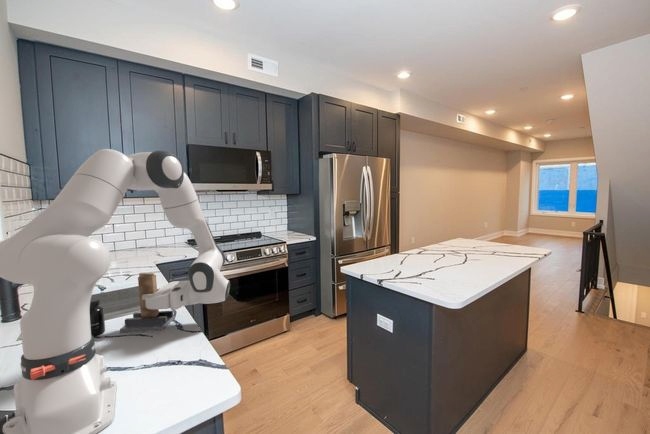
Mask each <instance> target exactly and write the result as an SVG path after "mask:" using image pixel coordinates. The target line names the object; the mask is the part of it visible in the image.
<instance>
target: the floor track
mask: <svg viewBox="0 0 650 434" xmlns="http://www.w3.org/2000/svg"><path fill="white" fill-rule="evenodd" d="M175 318H176V315H175V313H174V310H161V311H160V310H159V314H158V315H157V316H156V317H143V318H141V311H139V312H138V311H137V312H134V313H132V318H131V317H130V318H125V319H124V325H123V326H122V327H121V328H120V330H119V331H120V334H128V333H141V332H142V333H145V332H159V331H161V332H162V331H163V330H165V329H166V328H167V327H168V326H167V325H168V324H169V325H170V324H171V323H172V322H173V321H174V320H175ZM170 322H171V323H170ZM166 326H167V327H166ZM165 327H166V328H165ZM164 328H165V329H164Z"/></svg>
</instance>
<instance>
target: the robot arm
mask: <svg viewBox="0 0 650 434" xmlns="http://www.w3.org/2000/svg"><path fill="white" fill-rule="evenodd" d="M127 191H129V192H136V191H154V192H156V193H157V194H158V197H159V201H160V204H161V207H162V209H163V212H164V215H165V218H166V219H167V220H168V222H169V224H170V225H172V226H173V227H175V228H177V229H183V230H184V229H185V230H189V231H190V232H191V234H192V236H193V238H194V241H195V243H196V246H197V247H198V254H197V257H196V258H195V259H194V261H193V262H192V263H191V265H190V266H189V268H188V269H187V270H188V271H187V278H188V280H180V281H179V280H177V281H176V280H175V281H170V282H168V283H167V284H165V285H164V286H162V287H161V288H157V291H156V292H155V293H153V294H149V293H147V294H143V295H142V299H143V300H145V302H146V308H147V309H159V310H167V309H170V311H174V310H178V309H181V308H183V307H185V306H191V305H196V304H203V305H206V304H209V305H210V304H217V303H222V302H225V301H226V300H227V299H228V296H229V294H230V290H231V281H230V280H229V279H227V278H225V276H224V275H223V274H222V272H221V271H220V270H221V269H222V268H223V267H224V265H225V263H226V255H225V253H224V251H223V250H222V249H221V247H220V246H219V245H218V244H217V242H216V240H215V238H214V236H213V233H212V231H211V229H210V226H209V224H208V221H207V220H206V217H205V215H204V212H203V211H202V210H203V209H202V208H201V204H200V201H199V198H198V195H197V192H196V190H195V187H194V186H193V184H192V182H191V180H190V178H189V176H188V175H187V174H186V172H185V170H184V167H183V164H182V162H181V160H180V158H178V157H177V155H176V154H174V153H173V152H171V151H165V150H154V151H145V152H144V151H143V152H137V153H133V154H128V155H126V154H125V153H123V152H121V151H118V150H115V149H112V148H103V149H98V150H97V151H95V152H94V153H93V154H92V155H91V156H89V157H88V158H87V159H86V160H85V161H84V162H83V163H82V164H81V165H80V166H79V167H78V168H77V170H76V171H75V172H74V173H73V175H72V176H71V177H70V179H69V180H68V182H66V184H65V185H64V187H63V188H62V189H61V190H60V192H59V193H58V194H57V196H56V197H55V198H54V200H53V201H52V202H51V203H50V204H49V205H47V207H46V208H45V209H44V210H42V211H41V212H40V213H39V214H38V215H37V216H36V217H34V218H33V219H32V220H31V221H30V222H28V223H27V224H26V225H25V226H23V228H21V229H20V230H19V231H18V232H16V233H15V234H13V235H11V236H10V237H8V238H7V239H4V240H3V241H0V278H1V279H3V280H6V281H7V282H10V283H14V284H18V285H19V284H20V285H31V286H33V297H32V300H31V304H30V307H29V309H28V310H27V311H25V313H24V314H23V315H22V316H21V318H20V322H19V327H20V336H21V344H22V353H23V354H22V355H21V356H20V369H21V374H22V377H21V378H20V379H19V380H18V381H17V382H15V384H13V392H14V395H13V396H14V401H15V402H14V405H15V410H13V413H12V415H13V416H12V418H10V419H9V420H8V421H6V422H5V423H4V424H3V425H2V433H3V434H98V433H99V432H101V431H102V430H105V428H106V427H108V426H109V425H111V424H112V423H113V422H114V419H115V411H116V400H117V389H118V384H117V381H114V380H112V381H111V377H106V376H105V375H106V373H107V372H108V366H107V365H104V364H105V363H104V356H103V355H101V354H98V353H96V352H97V351H96V341H95V337H93V336H92V335H91V325H90V300H91V299H92V294H93V292H94V289H95V287H96V285H97V283H98V281H99V280H101V278H103V277H104V275H106V273H107V272H108V271H109V269H110V266H111V261H112V259H111V252H110V249H109V248H108V247H107V245H106V244H105V243H103V242H102V241H101V240H99V239H95V238H92V237H89V236H91V235H92V234H93V233H95V232H97V231H98V230H100V229H102V228H104V227H105V226H106V225H108V223H109V222H110V220H111V219H112V216H113V215H114V213H115V212H116V210H117V209H118V208H119V207H118V206H119V205H120V204H121V202H122V200H123V198H124V197H125V195H126V193H127Z"/></svg>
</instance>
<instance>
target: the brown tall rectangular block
mask: <svg viewBox="0 0 650 434" xmlns="http://www.w3.org/2000/svg"><path fill="white" fill-rule="evenodd" d="M155 273H156V272H140V273H139V274H138V278H137V282H138V295H139V305H140V312H141V318H143V317H156V316H157V315H158V314H159V311H160V309H147V308H146V302H145V300H143V299H142V295H143V294H147V293H149V294H153V293H155V292H156V291H157V289H158V288H157V284H158V283H157V275H156V274H155Z"/></svg>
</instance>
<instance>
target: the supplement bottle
mask: <svg viewBox="0 0 650 434" xmlns="http://www.w3.org/2000/svg"><path fill="white" fill-rule="evenodd" d="M100 300H101V299H100V298H91V300H90V325H91V335H92V336H93V337H94V338H97V337H99V336H101V335H103V334H104V333H105V332H106V322H105V309H104V307H103V306H102V305H101V303H100V302H101V301H100Z"/></svg>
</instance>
